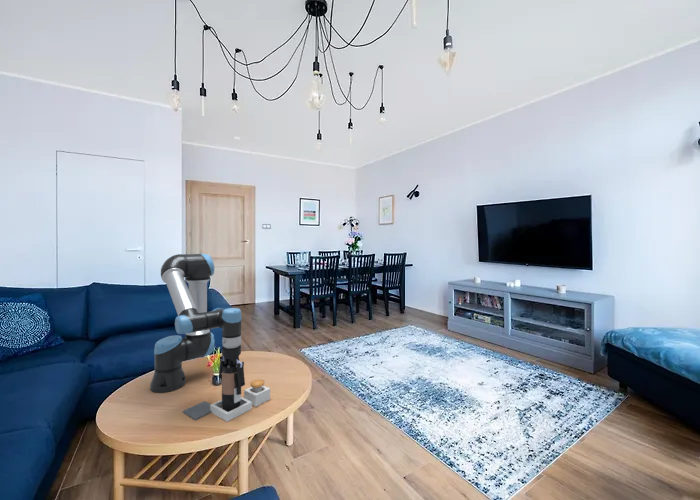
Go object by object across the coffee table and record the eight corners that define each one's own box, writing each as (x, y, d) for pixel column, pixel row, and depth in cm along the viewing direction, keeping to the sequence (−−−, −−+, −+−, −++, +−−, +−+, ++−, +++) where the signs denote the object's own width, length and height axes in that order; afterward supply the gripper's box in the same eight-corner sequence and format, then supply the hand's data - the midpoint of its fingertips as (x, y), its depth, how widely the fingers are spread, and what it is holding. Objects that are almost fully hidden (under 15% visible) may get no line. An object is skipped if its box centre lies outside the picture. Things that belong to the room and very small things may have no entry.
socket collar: (210, 411, 131) (210, 404, 131) (234, 400, 141) (234, 393, 141) (227, 421, 125) (227, 414, 124) (251, 408, 134) (251, 401, 134)
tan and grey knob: (247, 399, 141) (247, 382, 141) (258, 393, 146) (258, 378, 145) (256, 403, 137) (256, 386, 137) (266, 397, 142) (267, 381, 142)
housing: (244, 401, 141) (244, 390, 140) (258, 393, 147) (258, 383, 147) (255, 406, 136) (255, 395, 136) (269, 399, 143) (270, 388, 142)
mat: (182, 412, 131) (182, 410, 131) (205, 402, 139) (205, 400, 139) (195, 420, 125) (195, 419, 125) (218, 409, 133) (218, 408, 133)
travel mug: (234, 416, 128) (234, 368, 128) (217, 414, 130) (218, 366, 129) (244, 406, 136) (244, 361, 135) (228, 404, 137) (228, 359, 137)
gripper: (209, 342, 135) (209, 394, 135) (239, 353, 123) (238, 410, 124) (225, 338, 141) (225, 388, 142) (254, 348, 129) (254, 402, 130)
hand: (231, 398), depth 133 cm, fingers closed on travel mug, 8 cm apart
